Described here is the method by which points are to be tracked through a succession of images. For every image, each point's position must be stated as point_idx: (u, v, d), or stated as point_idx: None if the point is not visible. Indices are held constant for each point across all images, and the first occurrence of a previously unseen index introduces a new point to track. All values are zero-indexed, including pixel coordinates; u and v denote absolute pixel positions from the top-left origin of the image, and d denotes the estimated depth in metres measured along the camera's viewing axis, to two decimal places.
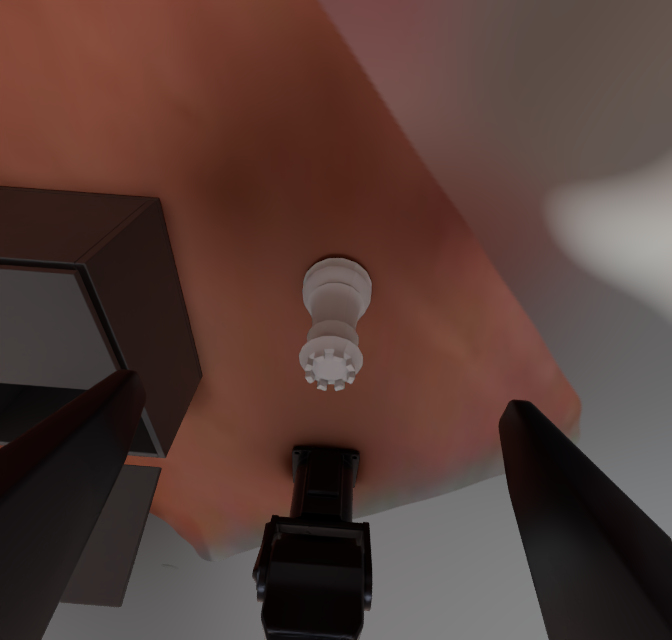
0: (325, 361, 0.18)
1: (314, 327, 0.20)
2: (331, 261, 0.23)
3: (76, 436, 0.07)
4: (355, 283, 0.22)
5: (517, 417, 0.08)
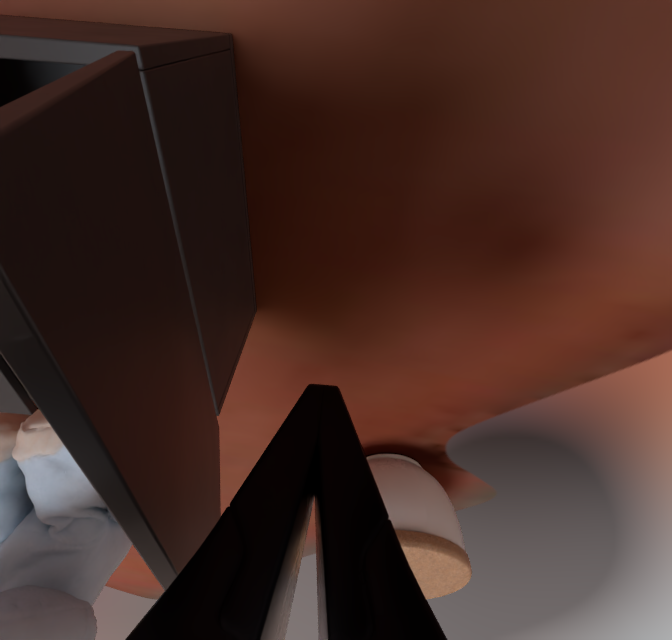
0: None
1: None
2: None
3: (314, 455, 0.07)
4: None
5: None
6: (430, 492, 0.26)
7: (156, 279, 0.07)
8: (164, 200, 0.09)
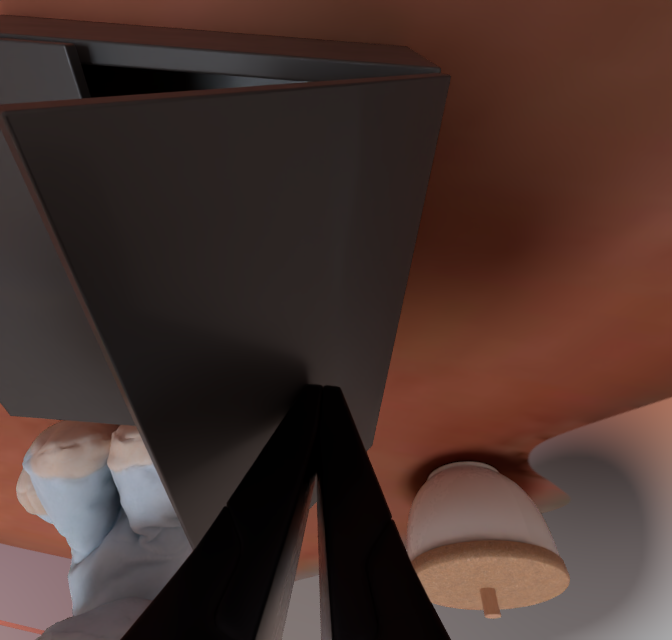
0: None
1: None
2: None
3: (311, 455, 0.07)
4: None
5: None
6: (523, 502, 0.26)
7: (325, 280, 0.07)
8: (409, 221, 0.09)
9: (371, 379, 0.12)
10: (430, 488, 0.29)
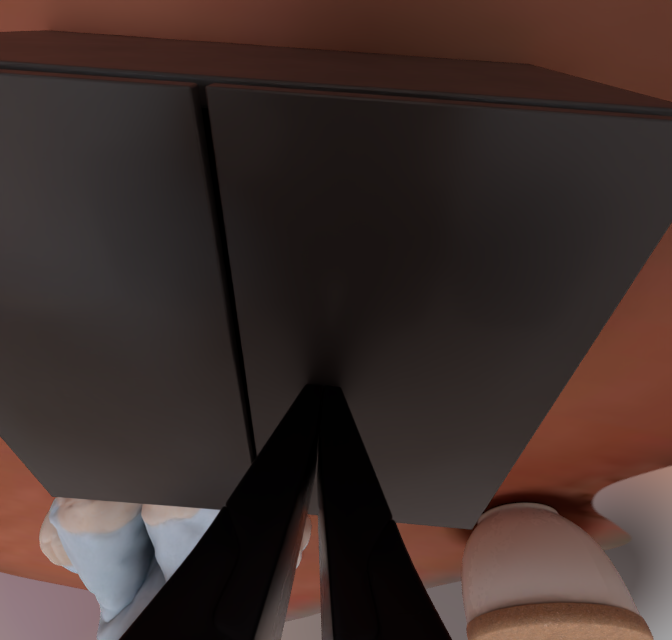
0: None
1: None
2: None
3: (310, 454, 0.07)
4: None
5: None
6: (596, 553, 0.24)
7: (435, 302, 0.07)
8: (593, 295, 0.07)
9: (484, 450, 0.10)
10: (488, 534, 0.26)
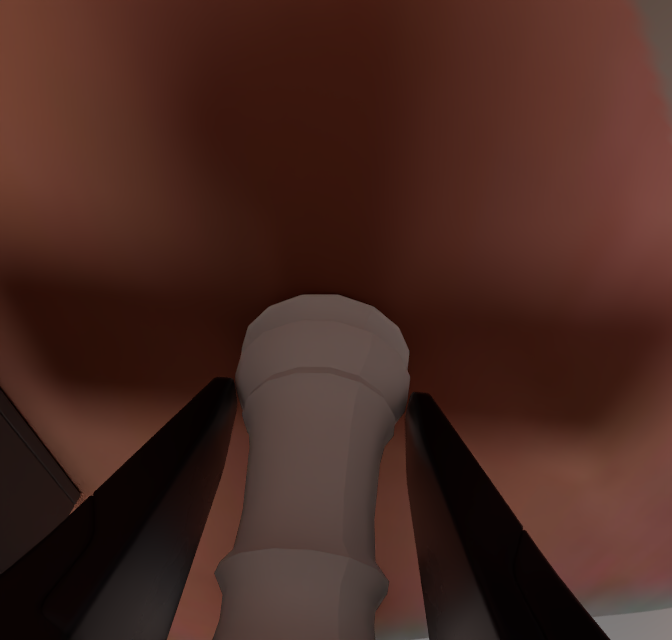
0: None
1: (233, 564, 0.06)
2: (306, 303, 0.09)
3: (197, 446, 0.07)
4: (372, 367, 0.08)
5: (414, 409, 0.08)
6: None
7: None
8: None
9: None
10: None
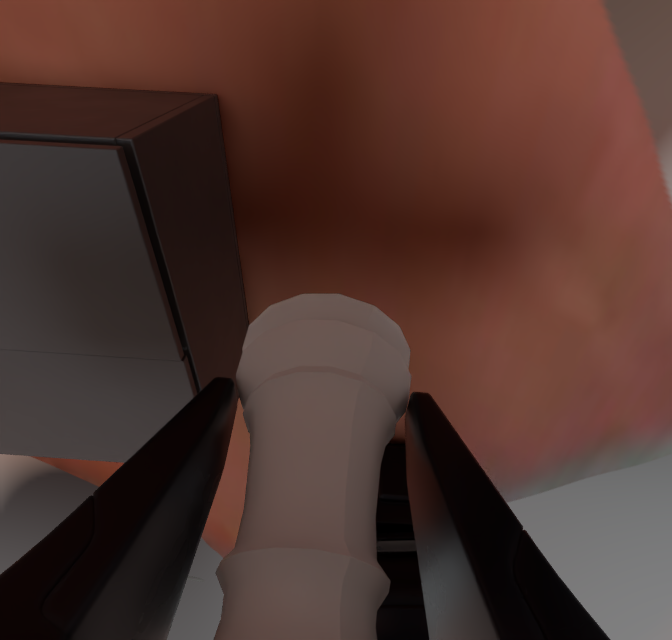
0: None
1: (234, 563, 0.05)
2: (307, 302, 0.09)
3: (197, 446, 0.07)
4: (373, 366, 0.08)
5: (413, 409, 0.08)
6: None
7: (126, 421, 0.16)
8: None
9: (44, 446, 0.18)
10: None
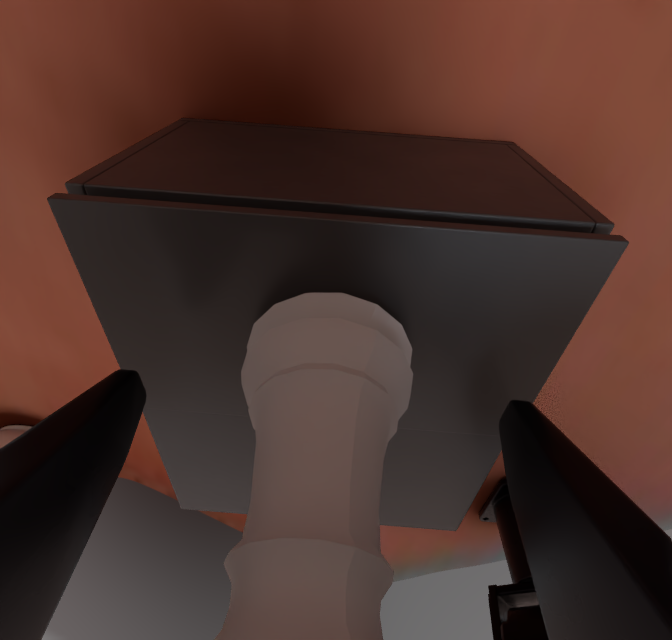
0: None
1: (242, 553, 0.06)
2: (312, 301, 0.09)
3: (76, 436, 0.07)
4: (376, 364, 0.08)
5: (517, 417, 0.08)
6: None
7: (395, 488, 0.15)
8: (396, 520, 0.17)
9: None
10: None
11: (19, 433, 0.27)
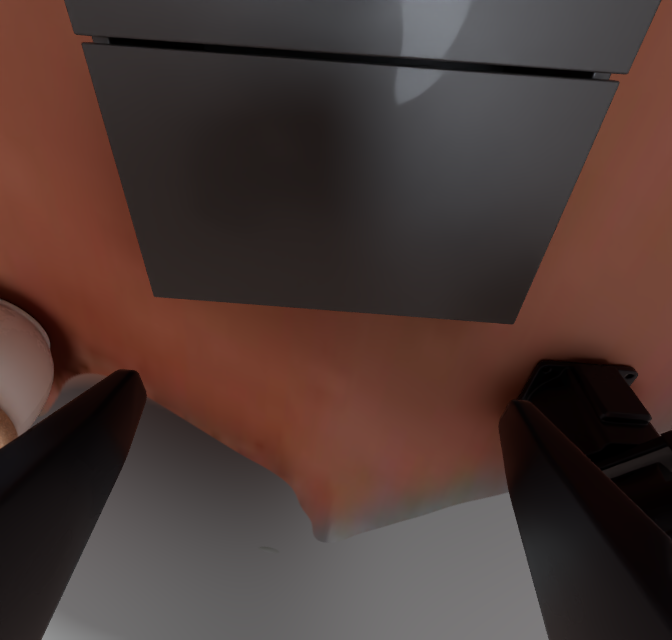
0: None
1: None
2: None
3: (76, 436, 0.07)
4: None
5: (517, 417, 0.08)
6: (46, 398, 0.25)
7: (441, 228, 0.11)
8: (435, 305, 0.13)
9: (286, 283, 0.13)
10: None
11: None
